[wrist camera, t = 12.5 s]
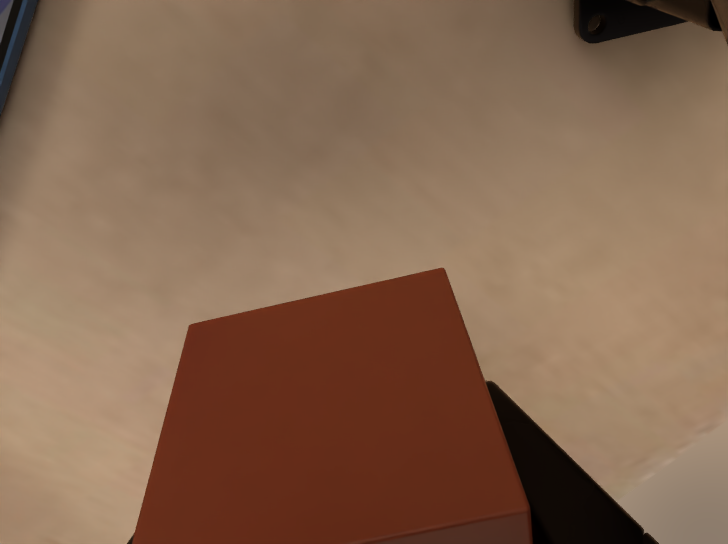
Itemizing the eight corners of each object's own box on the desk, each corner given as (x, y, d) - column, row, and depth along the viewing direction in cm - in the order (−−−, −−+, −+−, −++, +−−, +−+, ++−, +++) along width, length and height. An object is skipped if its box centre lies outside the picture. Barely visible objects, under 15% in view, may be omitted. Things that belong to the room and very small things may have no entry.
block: (444, 265, 9) (531, 509, 6) (471, 434, 12) (544, 676, 8) (187, 322, 10) (117, 592, 6) (268, 476, 12) (252, 731, 8)
